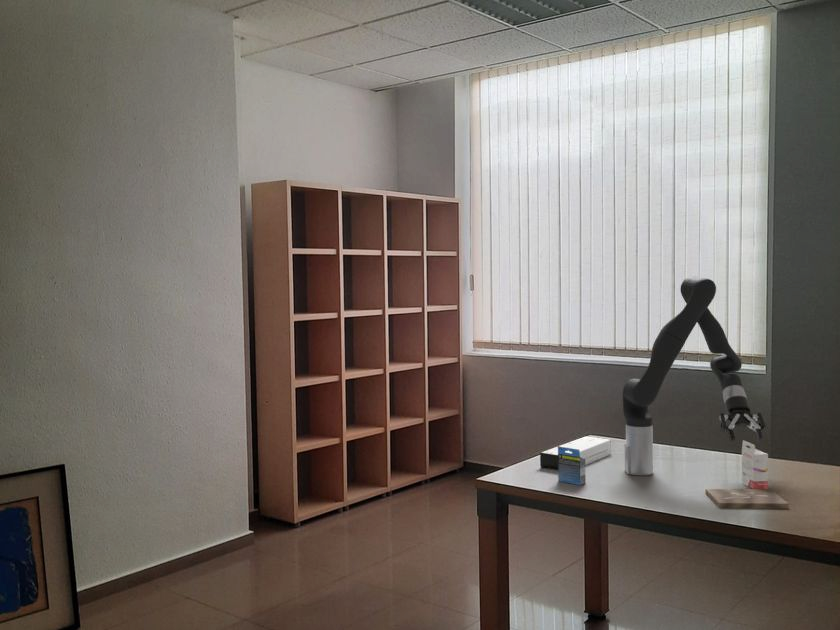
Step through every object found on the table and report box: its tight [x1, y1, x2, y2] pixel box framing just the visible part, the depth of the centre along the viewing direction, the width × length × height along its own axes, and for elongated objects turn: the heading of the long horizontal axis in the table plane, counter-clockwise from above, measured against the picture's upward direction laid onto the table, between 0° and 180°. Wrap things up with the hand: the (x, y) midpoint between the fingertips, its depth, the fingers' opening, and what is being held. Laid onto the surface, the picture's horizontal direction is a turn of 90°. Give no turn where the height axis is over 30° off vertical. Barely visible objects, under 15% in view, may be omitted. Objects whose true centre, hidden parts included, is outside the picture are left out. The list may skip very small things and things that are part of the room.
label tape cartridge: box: [557, 445, 587, 486], centre depth 262 cm, size 9×4×12 cm, turn 47°
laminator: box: [539, 435, 612, 471], centre depth 291 cm, size 34×12×6 cm, turn 139°
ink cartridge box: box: [741, 439, 769, 489], centre depth 252 cm, size 9×5×15 cm, turn 5°
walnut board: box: [705, 488, 789, 509], centre depth 238 cm, size 20×15×2 cm
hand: (746, 440), depth 260 cm, fingers open, 8 cm apart
